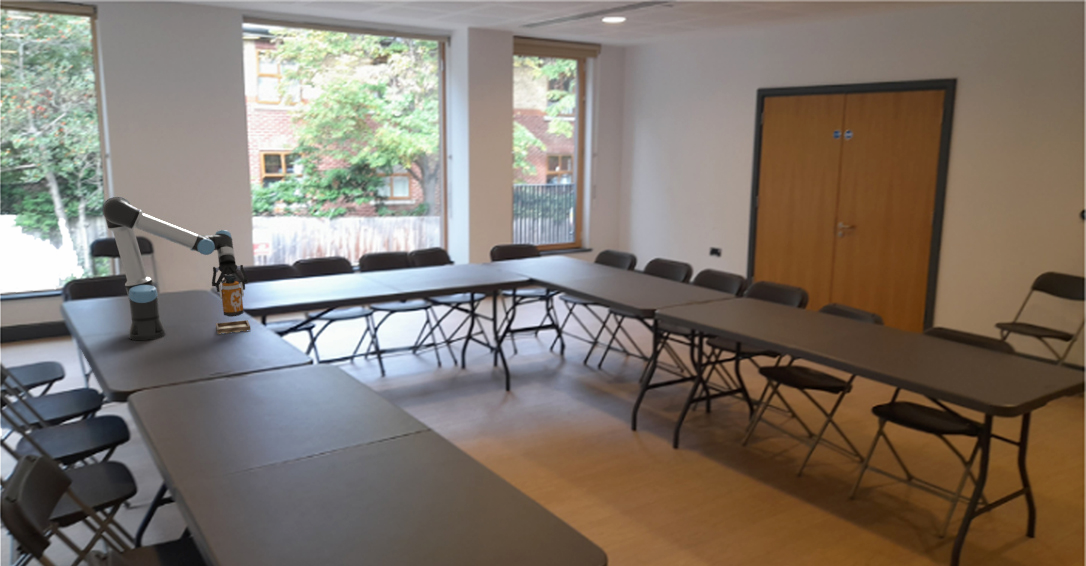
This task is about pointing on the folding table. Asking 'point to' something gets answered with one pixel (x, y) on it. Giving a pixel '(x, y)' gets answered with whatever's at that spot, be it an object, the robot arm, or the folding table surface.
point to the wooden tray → (232, 326)
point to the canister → (231, 296)
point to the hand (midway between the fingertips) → (232, 295)
